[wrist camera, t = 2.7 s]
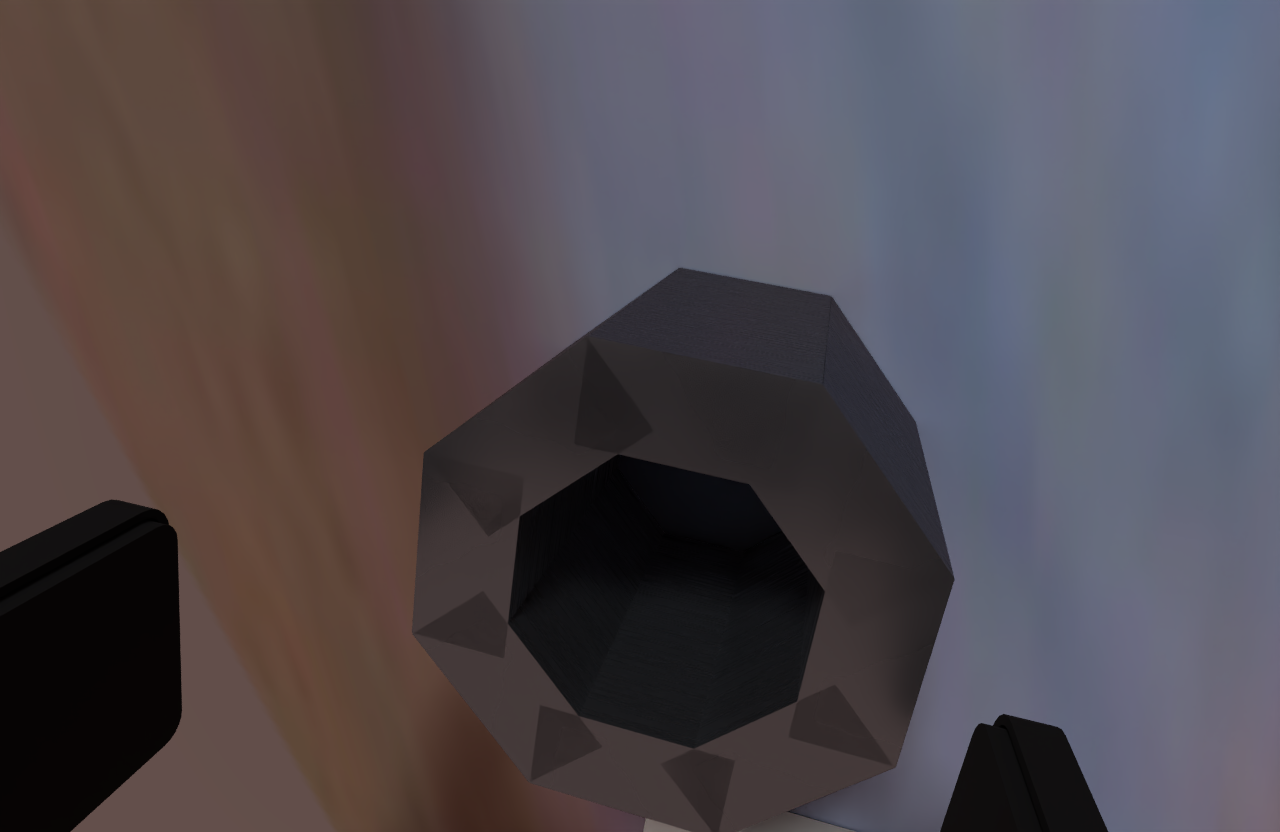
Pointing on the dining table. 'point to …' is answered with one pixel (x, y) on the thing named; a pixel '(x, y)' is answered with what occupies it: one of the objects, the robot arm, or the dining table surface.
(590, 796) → the ring
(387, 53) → the dining table surface
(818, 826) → the shaft block
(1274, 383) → the dining table surface
